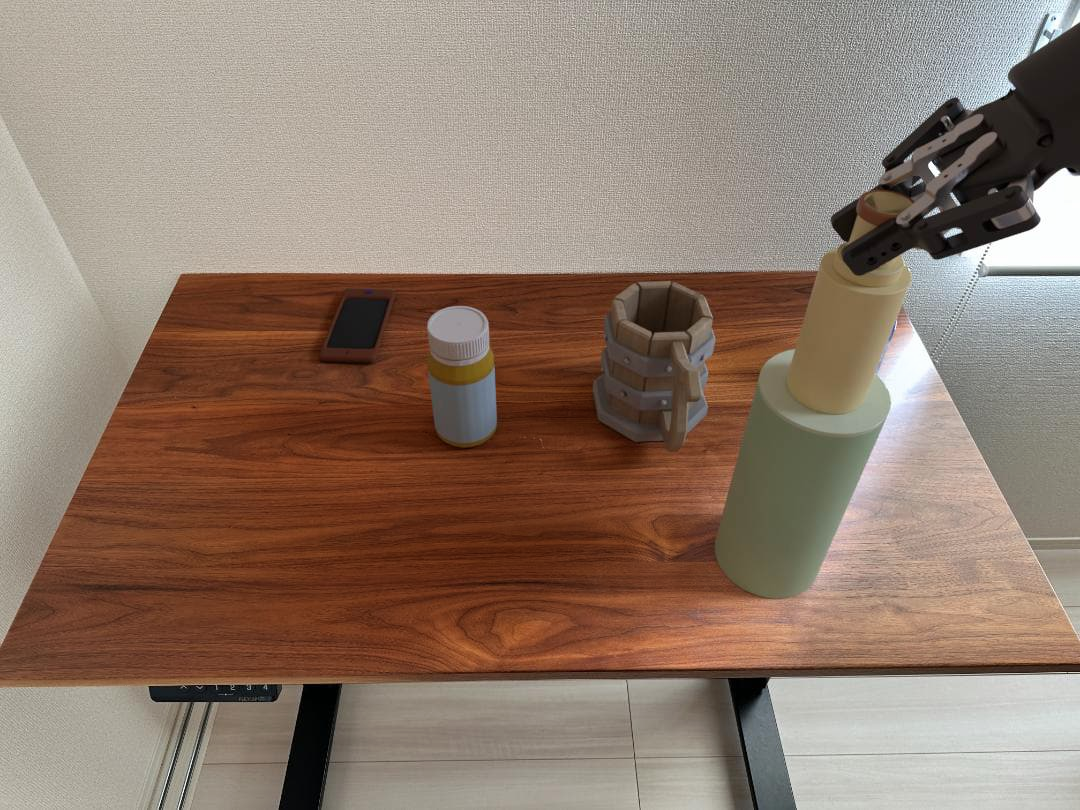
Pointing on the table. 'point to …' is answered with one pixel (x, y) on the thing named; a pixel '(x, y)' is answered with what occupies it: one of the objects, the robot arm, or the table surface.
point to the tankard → (655, 363)
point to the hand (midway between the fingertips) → (843, 246)
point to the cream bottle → (849, 318)
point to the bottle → (461, 376)
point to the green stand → (792, 484)
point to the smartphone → (358, 326)
